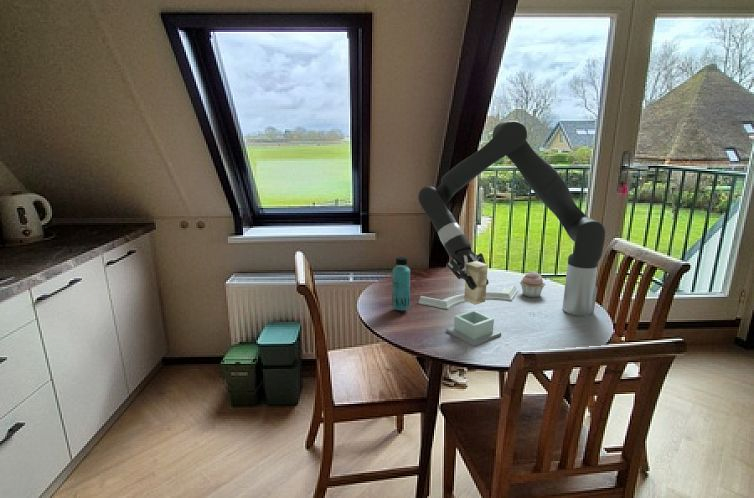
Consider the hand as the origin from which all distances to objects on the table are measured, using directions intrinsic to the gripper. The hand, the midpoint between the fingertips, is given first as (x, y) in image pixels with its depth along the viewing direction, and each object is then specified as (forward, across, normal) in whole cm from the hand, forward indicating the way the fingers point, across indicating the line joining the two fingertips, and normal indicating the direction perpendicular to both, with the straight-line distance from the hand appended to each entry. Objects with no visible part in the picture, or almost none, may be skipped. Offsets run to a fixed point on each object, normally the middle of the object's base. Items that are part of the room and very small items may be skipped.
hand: (480, 286), depth 124 cm
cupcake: (+3, +42, +20) cm, 47 cm away
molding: (-5, +21, +29) cm, 36 cm away
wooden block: (+2, 0, +5) cm, 6 cm away
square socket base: (+10, 0, +13) cm, 17 cm away
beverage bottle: (-9, -8, +32) cm, 34 cm away
